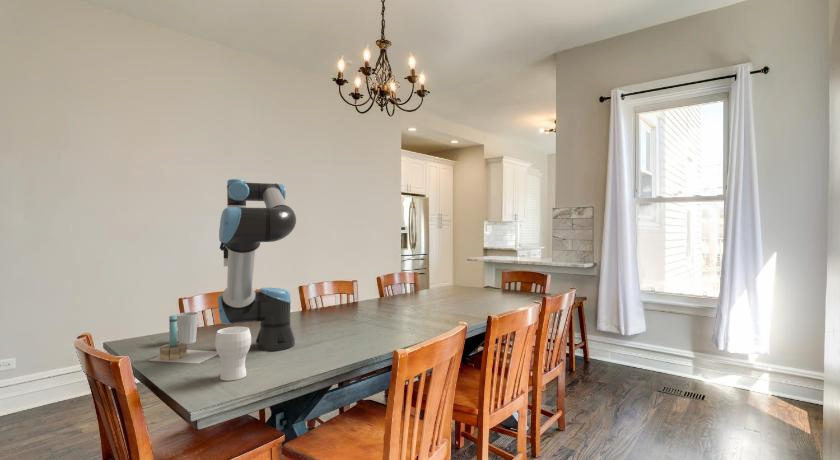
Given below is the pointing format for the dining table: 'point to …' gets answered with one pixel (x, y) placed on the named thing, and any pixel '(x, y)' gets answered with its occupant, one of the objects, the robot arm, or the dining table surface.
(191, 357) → the mat
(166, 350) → the bead
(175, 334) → the teal marker pen
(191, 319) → the cup
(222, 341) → the cup
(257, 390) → the dining table surface
